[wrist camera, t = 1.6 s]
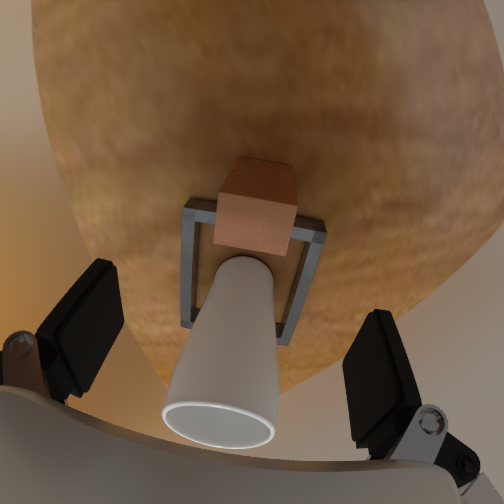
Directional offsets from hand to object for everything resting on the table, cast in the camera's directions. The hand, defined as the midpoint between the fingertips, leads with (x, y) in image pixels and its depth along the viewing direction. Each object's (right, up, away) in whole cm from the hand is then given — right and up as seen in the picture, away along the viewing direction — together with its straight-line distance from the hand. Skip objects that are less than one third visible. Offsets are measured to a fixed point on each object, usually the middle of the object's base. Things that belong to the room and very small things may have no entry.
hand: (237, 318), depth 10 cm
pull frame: (0, +2, +15) cm, 16 cm away
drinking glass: (0, 0, +17) cm, 17 cm away
